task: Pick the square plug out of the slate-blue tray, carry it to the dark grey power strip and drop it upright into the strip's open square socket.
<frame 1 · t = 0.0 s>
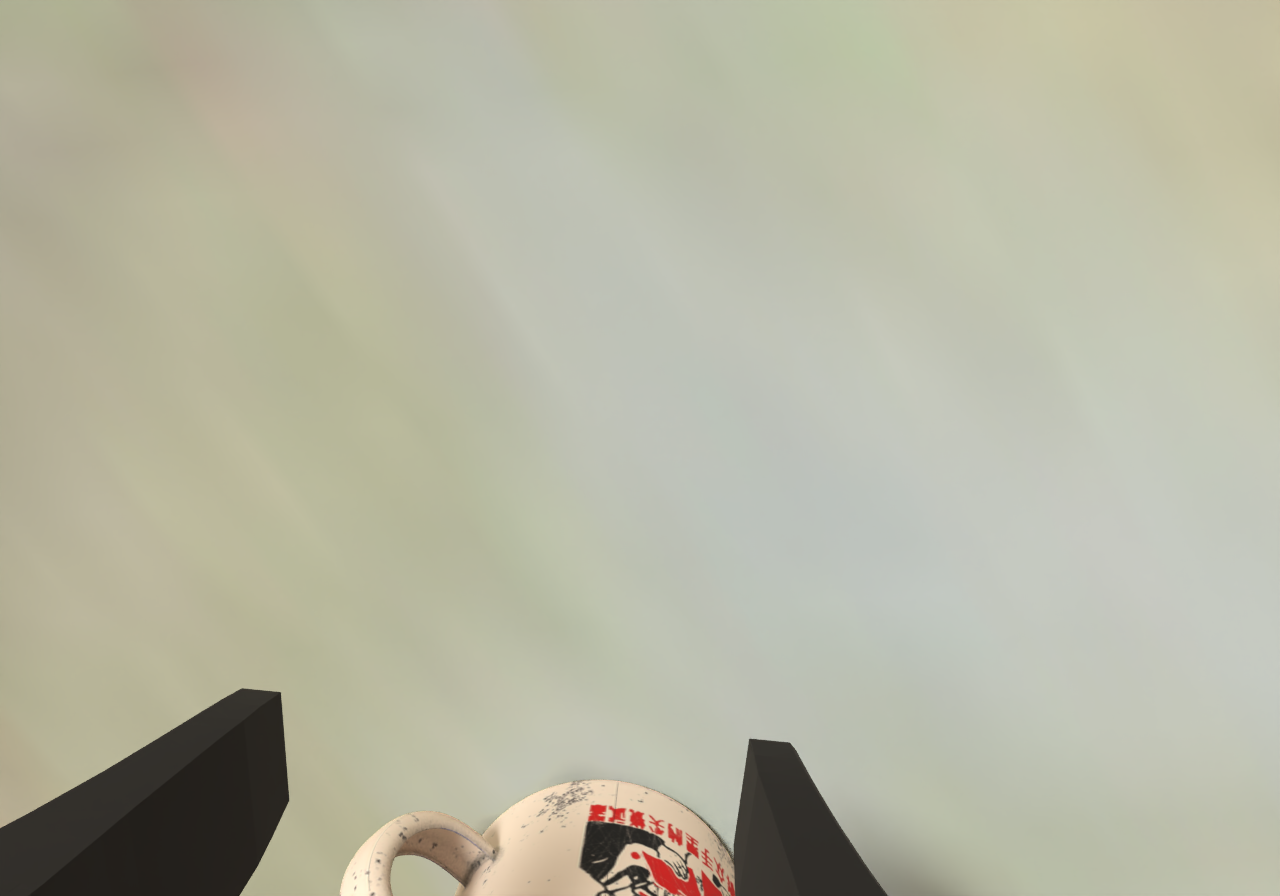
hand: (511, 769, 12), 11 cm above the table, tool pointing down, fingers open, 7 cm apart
teacup with lid: (570, 866, 24), on the table
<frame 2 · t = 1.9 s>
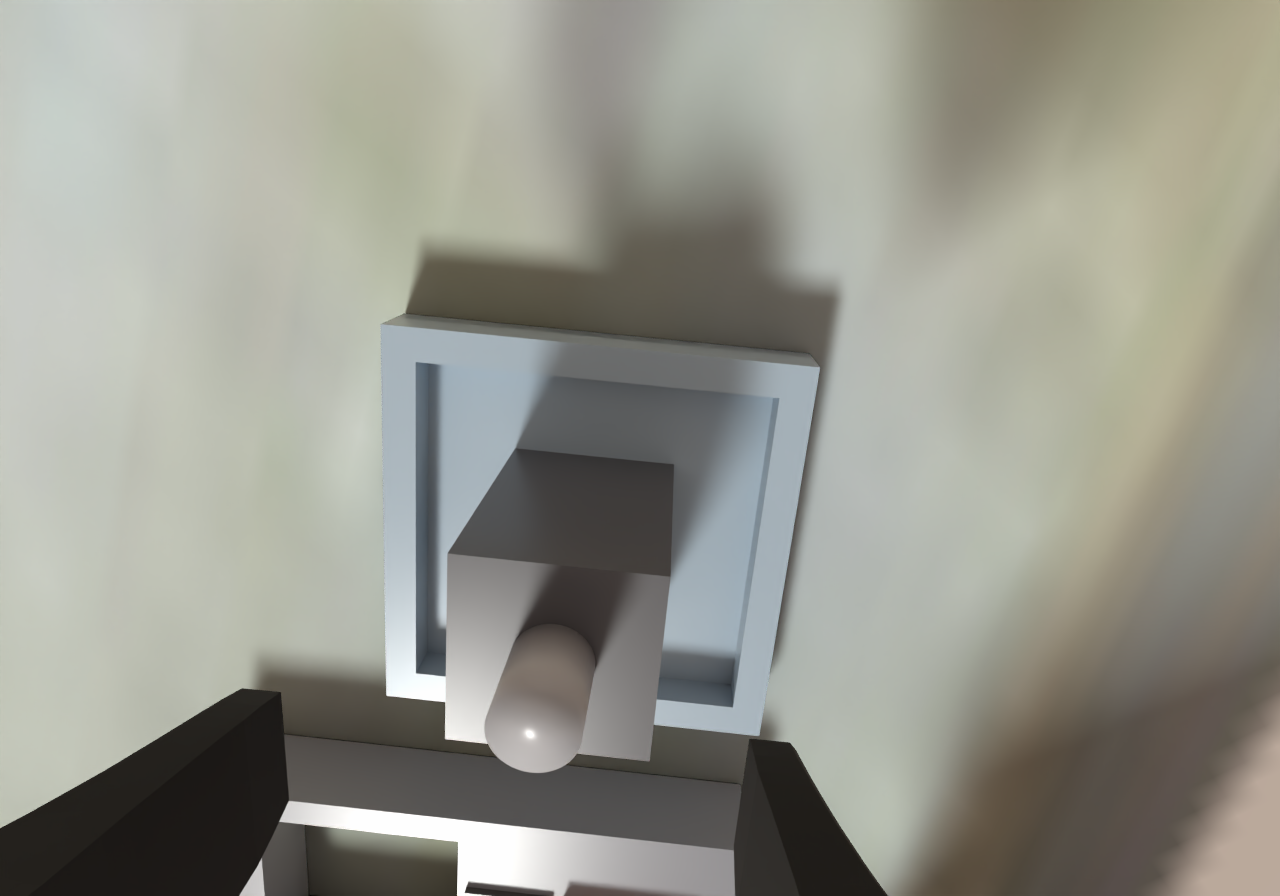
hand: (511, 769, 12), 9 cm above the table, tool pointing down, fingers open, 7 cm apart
plug: (588, 529, 20), point 1 cm above the table, touching tray
power strip: (486, 848, 25), on the table
tray: (591, 519, 21), on the table
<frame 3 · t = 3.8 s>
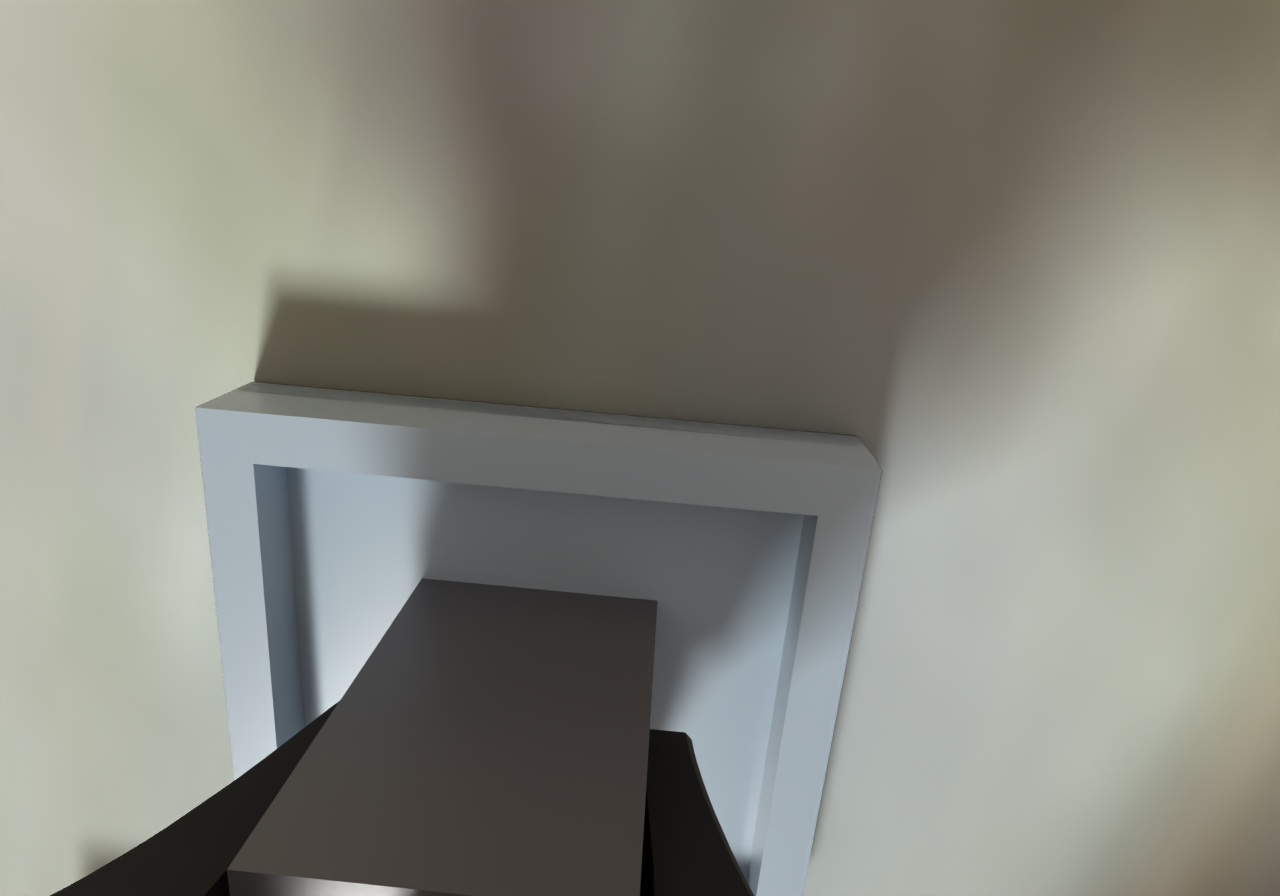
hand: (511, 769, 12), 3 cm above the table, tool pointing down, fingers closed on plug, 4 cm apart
plug: (535, 690, 14), point 1 cm above the table, touching gripper, tray
tray: (540, 670, 14), on the table
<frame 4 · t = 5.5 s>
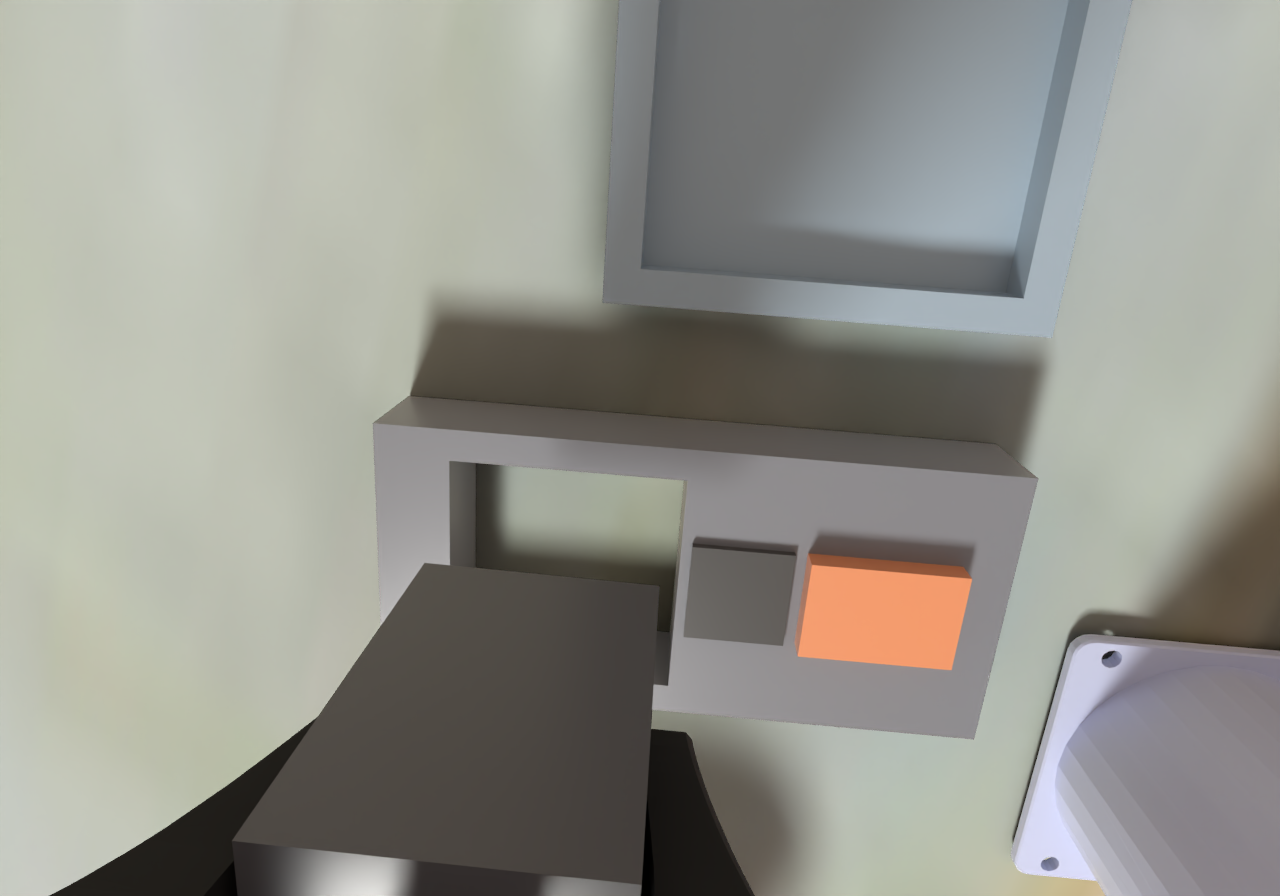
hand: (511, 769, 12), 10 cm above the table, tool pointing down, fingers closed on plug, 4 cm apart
plug: (536, 675, 14), point 7 cm above the table, touching gripper
power strip: (687, 544, 21), on the table
tray: (845, 84, 17), on the table
when the fingers open (3 cm above the table, at t = 7.6 s): plug drops 1 cm, resting in power strip.
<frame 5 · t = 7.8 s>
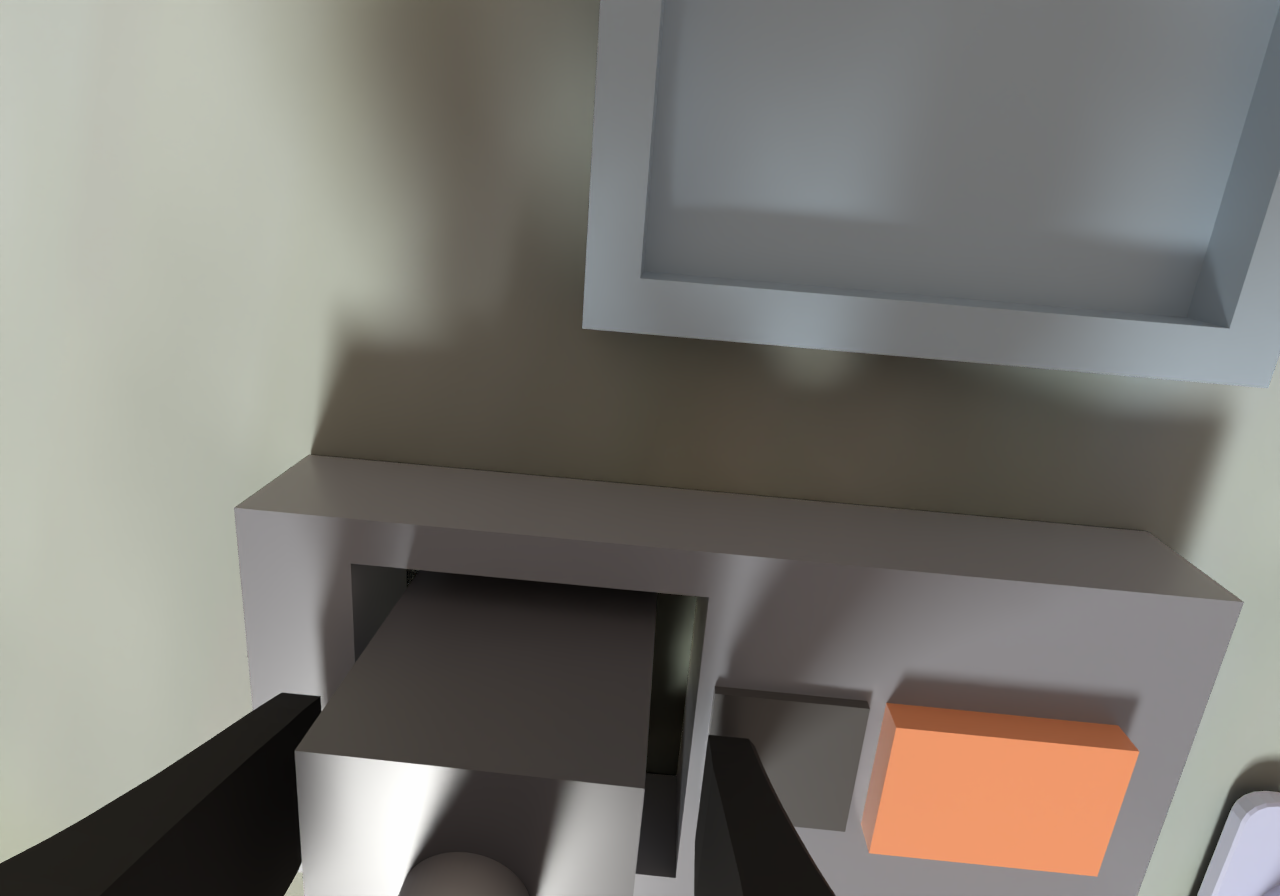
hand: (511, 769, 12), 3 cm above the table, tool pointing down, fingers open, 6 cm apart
plug: (547, 636, 15), resting in power strip
power strip: (702, 661, 15), on the table
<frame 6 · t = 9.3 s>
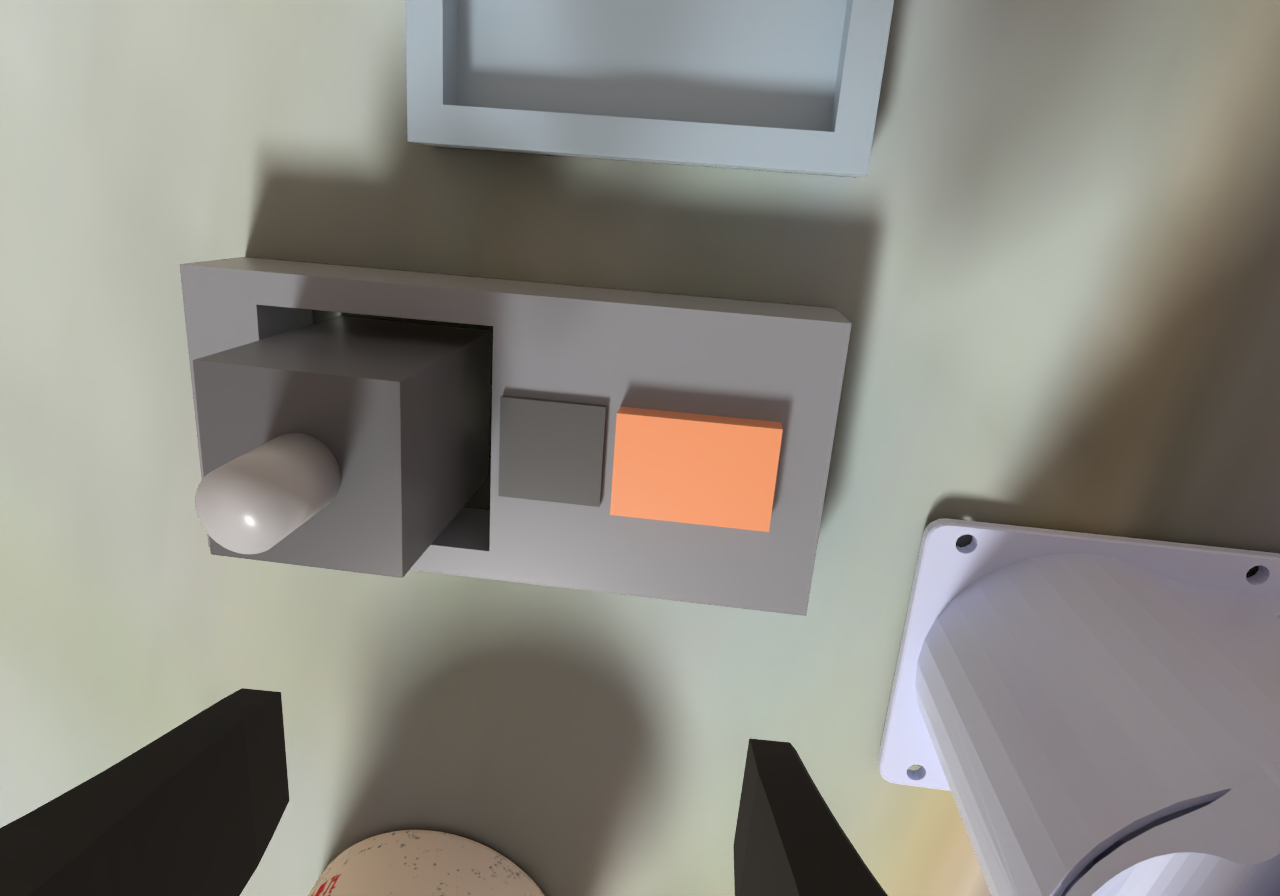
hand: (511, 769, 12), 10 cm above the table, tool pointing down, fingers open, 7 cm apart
plug: (416, 398, 21), resting in power strip
power strip: (527, 417, 21), on the table
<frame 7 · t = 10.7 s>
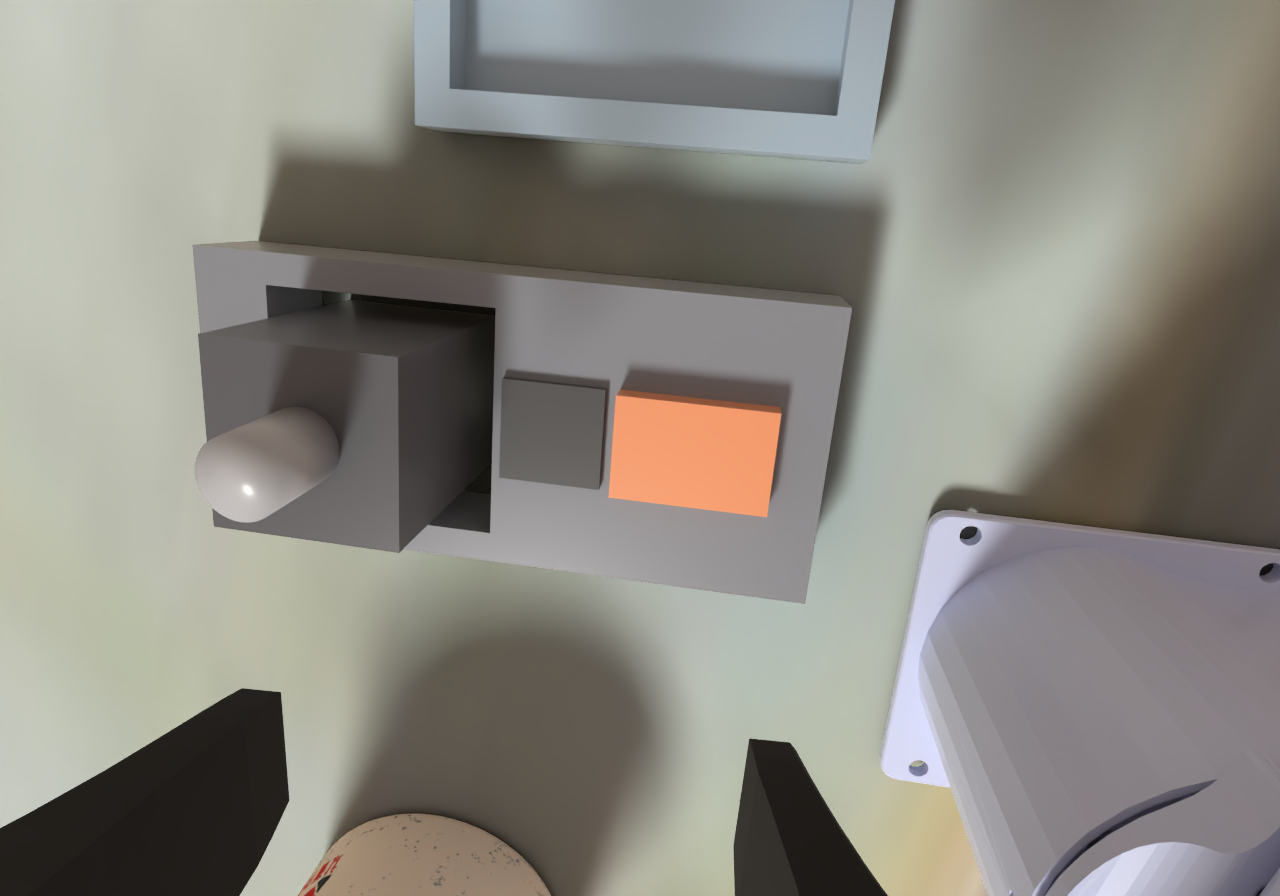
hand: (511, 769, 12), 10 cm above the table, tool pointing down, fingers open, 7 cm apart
plug: (422, 382, 21), resting in power strip
power strip: (531, 402, 21), on the table
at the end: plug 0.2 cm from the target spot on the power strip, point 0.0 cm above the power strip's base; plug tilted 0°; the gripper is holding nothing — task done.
